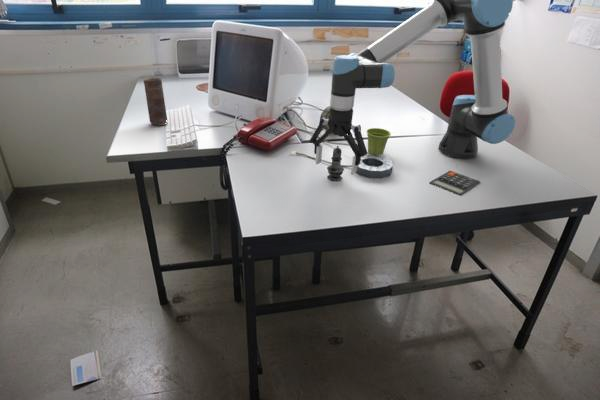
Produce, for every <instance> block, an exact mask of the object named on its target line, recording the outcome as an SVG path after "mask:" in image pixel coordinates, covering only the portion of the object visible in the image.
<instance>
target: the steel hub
mask: <svg viewBox="0 0 600 400" xmlns="http://www.w3.org/2000/svg"><path fill="white" fill-rule="evenodd" d="M393 167H394V164H393V162H392V161H391V160H390V159H388V158H387V157H384V156H382V155H371V154H366V155H365V156H363V157H362V156H361V160H360V164H359V165H358V166H357V171H356V173H355V174H356V175H358V176H360V177H364V178H367V179H374V180H375V179H379V180H380V179H385V178H388V177H390V176H391V175H392V173H393Z"/></svg>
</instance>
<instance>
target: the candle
mask: <svg viewBox="0 0 600 400" xmlns="http://www.w3.org/2000/svg"><path fill="white" fill-rule="evenodd" d="M143 86H144V92H145V98H146V99H145V100H146V105H147V112H148V119H149V123H150V124H152V125H159V126H166V125H165V123H166V120H167V121H168V115H167V109H166V102H165V96H164V94H165V93H164V90H163V89H164V88H163V80H162V78H161V77H160V78H159V77H157V76H154V77H151V78H147V79H143Z"/></svg>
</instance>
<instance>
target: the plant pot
mask: <svg viewBox="0 0 600 400" xmlns="http://www.w3.org/2000/svg"><path fill="white" fill-rule="evenodd" d="M366 134H367V135H366V136H367V153H369V154H368V155H377V156H382V155H383V154H384V152H385V149H386V146H387V142H388V140H389V138H390V137H391V132H390V131H389V130H387V129H383V128H381V127H380V128H378V127H372V128H368V129H367V130H366Z"/></svg>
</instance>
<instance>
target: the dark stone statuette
mask: <svg viewBox="0 0 600 400" xmlns="http://www.w3.org/2000/svg"><path fill="white" fill-rule="evenodd" d="M341 161H342V149H341V148H339V145H337V146H336V147H334V148H333V150H332V157H331V164H330V165H329V166H327V167H326V169H327V172H328V173H327V177H326V179H327V180H329V181H332V182H342V180H343V177H342V174H343V173H344V171H345V168H344V167H343V166H341V165H342V164H341Z"/></svg>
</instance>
